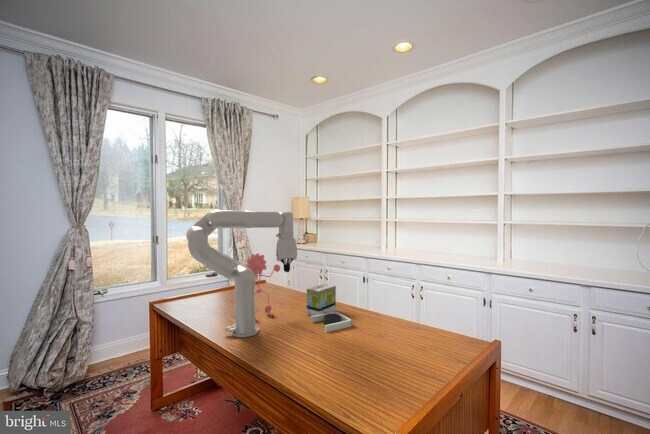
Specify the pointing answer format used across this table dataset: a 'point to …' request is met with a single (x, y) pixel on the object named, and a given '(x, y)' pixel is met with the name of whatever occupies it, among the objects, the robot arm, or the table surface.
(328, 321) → the smart speaker
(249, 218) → the robot arm
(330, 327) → the frame
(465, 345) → the table surface
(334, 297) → the tea box
